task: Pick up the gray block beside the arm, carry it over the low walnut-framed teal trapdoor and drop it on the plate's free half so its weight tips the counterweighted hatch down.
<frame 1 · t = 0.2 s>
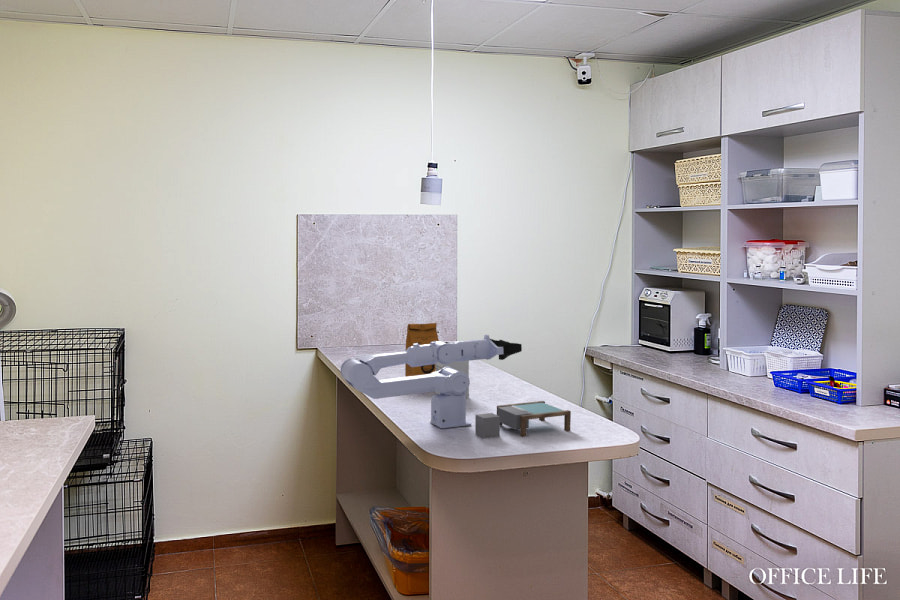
hand: (514, 346, 229), 21 cm above the countertop, tool horizontal, fingers open, 7 cm apart
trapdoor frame: (537, 427, 221), on the countertop
coffee package: (423, 385, 280), on the countertop
gray block: (487, 435, 212), on the countertop
trapdoor: (530, 415, 219), point 4 cm above the countertop, hinge at 0.0°
supplement box: (451, 396, 261), on the countertop
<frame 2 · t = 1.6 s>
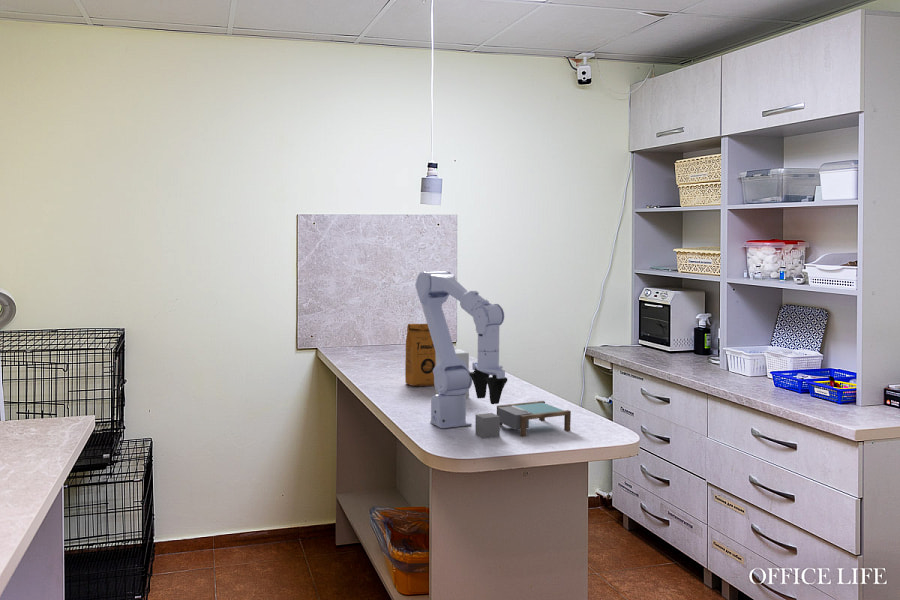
hand: (487, 400, 211), 9 cm above the countertop, tool pointing down, fingers open, 7 cm apart
nothing on the countertop moved.
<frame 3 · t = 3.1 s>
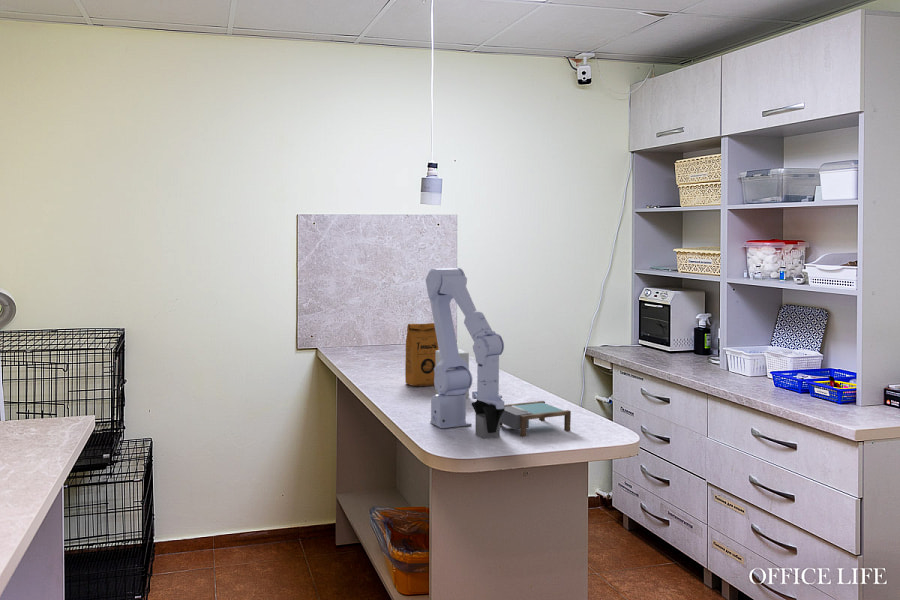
hand: (487, 430, 212), 1 cm above the countertop, tool pointing down, fingers closed on gray block, 4 cm apart
gray block: (487, 435, 212), on the countertop, touching gripper
everything else where it was.
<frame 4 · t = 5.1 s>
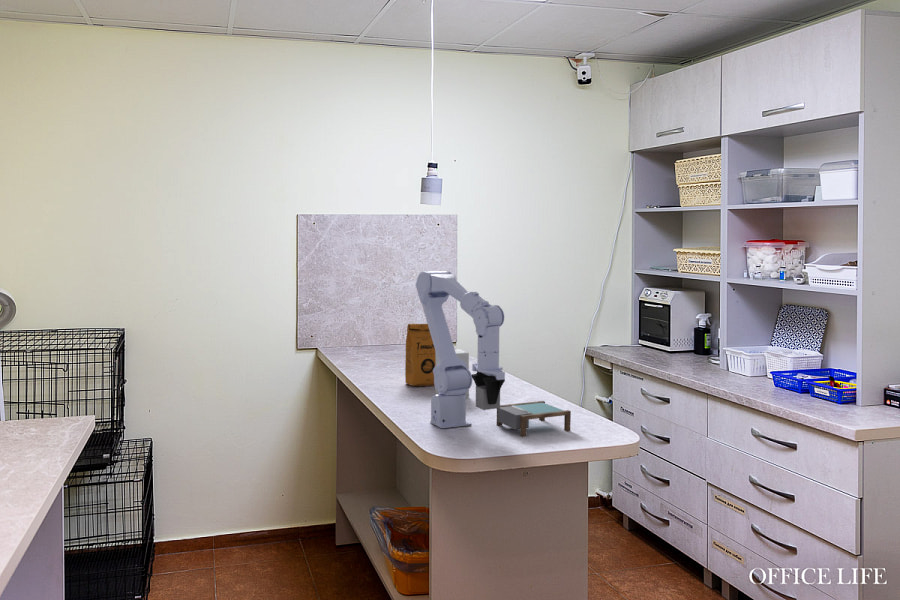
hand: (487, 402, 211), 9 cm above the countertop, tool pointing down, fingers closed on gray block, 4 cm apart
gray block: (487, 407, 211), point 8 cm above the countertop, touching gripper
everything else where it was.
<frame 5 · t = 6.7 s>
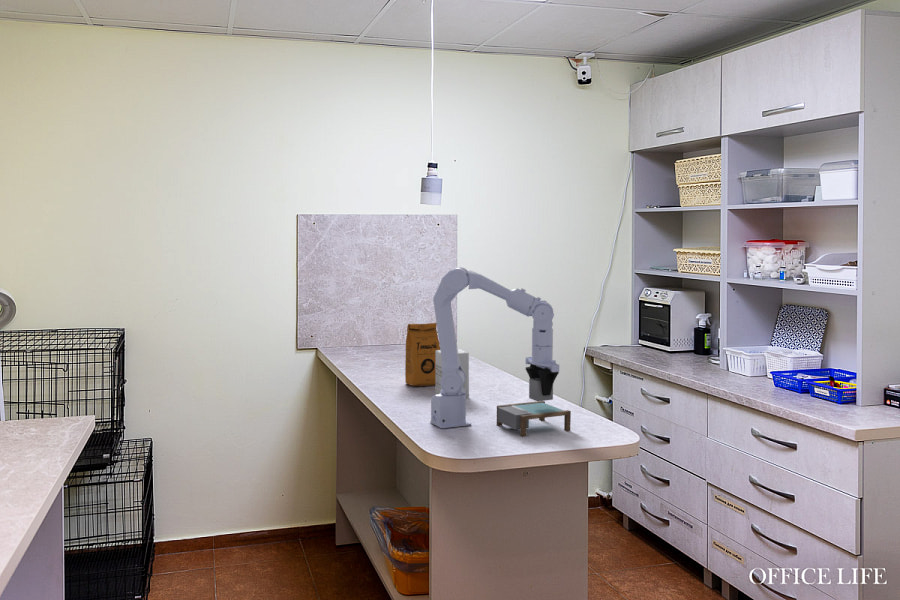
hand: (541, 393, 220), 9 cm above the countertop, tool pointing down, fingers closed on gray block, 4 cm apart
gray block: (540, 398, 220), point 8 cm above the countertop, touching gripper
everything else where it was.
when the fingers open (9 cm above the countertop, at t = 7.6 s): gray block drops 3 cm, resting on trapdoor.
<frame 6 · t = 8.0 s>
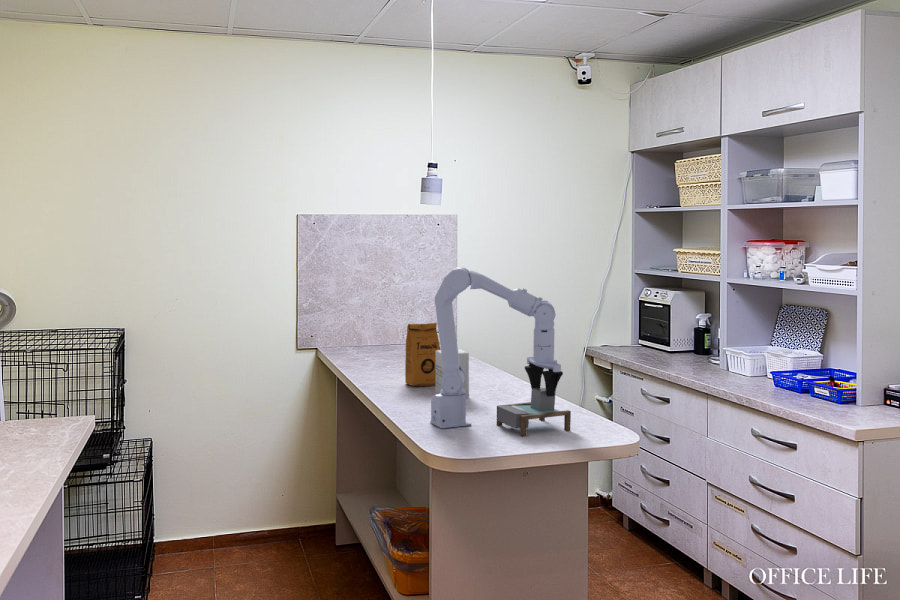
hand: (542, 393, 221), 9 cm above the countertop, tool pointing down, fingers open, 7 cm apart
gray block: (542, 409, 221), point 5 cm above the countertop, touching trapdoor
trapdoor: (530, 416, 219), point 3 cm above the countertop, hinge at -3.5°, touching gray block
everything else where it was.
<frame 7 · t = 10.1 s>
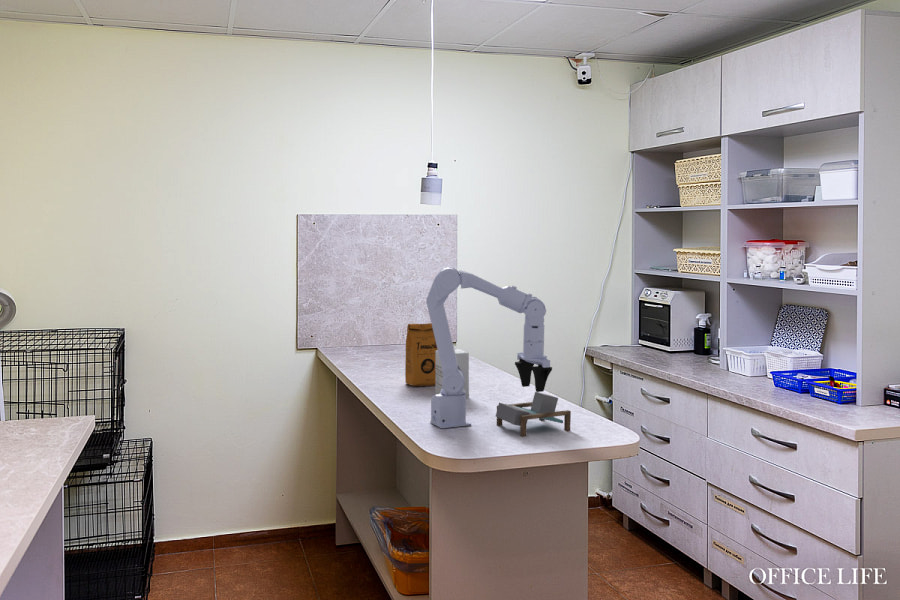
hand: (532, 388, 223), 10 cm above the countertop, tool pointing down, fingers open, 7 cm apart
gray block: (541, 413, 221), point 4 cm above the countertop, tilted 16°, touching trapdoor
trapdoor: (528, 418, 219), point 3 cm above the countertop, hinge at -15.9°, touching gray block
everything else where it was.
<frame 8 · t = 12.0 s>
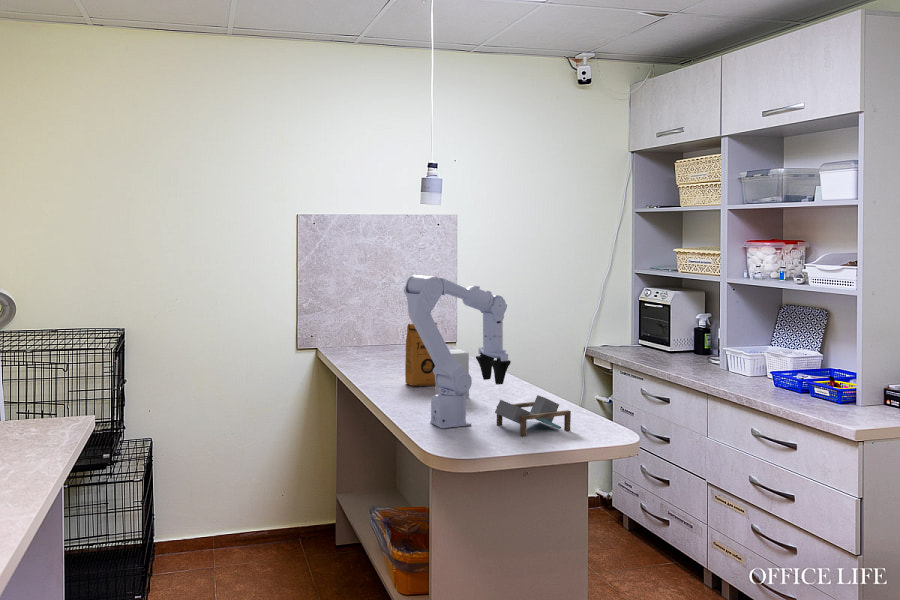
hand: (493, 381, 232), 10 cm above the countertop, tool pointing down, fingers open, 7 cm apart
gray block: (540, 417, 221), point 3 cm above the countertop, tilted 26°, touching trapdoor
trapdoor: (527, 419, 219), point 3 cm above the countertop, hinge at -26.3°, touching gray block
everything else where it was.
at the end: gray block inside the target area (5.2 cm from its centre), point 2.4 cm above the countertop; the gripper is holding nothing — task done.
